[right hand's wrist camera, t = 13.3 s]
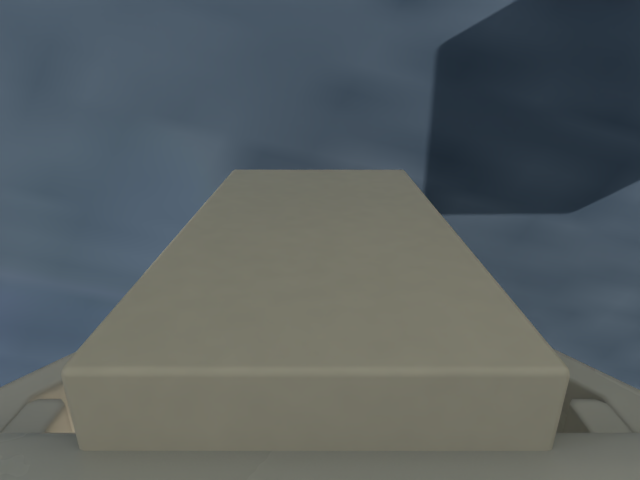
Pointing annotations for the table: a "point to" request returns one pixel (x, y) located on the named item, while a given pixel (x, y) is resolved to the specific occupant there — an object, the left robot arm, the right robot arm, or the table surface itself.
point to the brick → (316, 332)
